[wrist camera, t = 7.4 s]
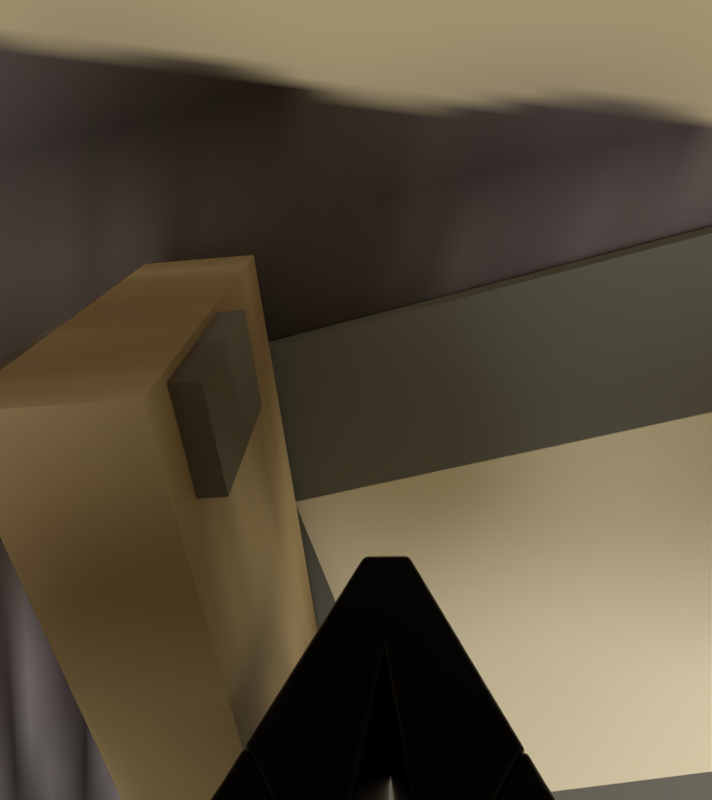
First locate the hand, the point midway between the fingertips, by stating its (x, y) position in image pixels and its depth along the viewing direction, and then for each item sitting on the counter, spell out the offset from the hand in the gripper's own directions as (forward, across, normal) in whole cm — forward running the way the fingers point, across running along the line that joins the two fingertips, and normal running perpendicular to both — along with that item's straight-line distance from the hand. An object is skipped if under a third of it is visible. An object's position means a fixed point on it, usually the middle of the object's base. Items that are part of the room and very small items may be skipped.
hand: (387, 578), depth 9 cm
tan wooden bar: (+2, +2, +3) cm, 5 cm away
